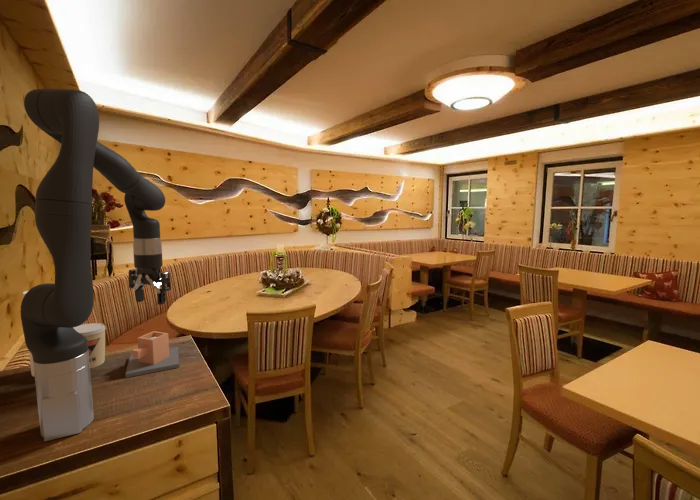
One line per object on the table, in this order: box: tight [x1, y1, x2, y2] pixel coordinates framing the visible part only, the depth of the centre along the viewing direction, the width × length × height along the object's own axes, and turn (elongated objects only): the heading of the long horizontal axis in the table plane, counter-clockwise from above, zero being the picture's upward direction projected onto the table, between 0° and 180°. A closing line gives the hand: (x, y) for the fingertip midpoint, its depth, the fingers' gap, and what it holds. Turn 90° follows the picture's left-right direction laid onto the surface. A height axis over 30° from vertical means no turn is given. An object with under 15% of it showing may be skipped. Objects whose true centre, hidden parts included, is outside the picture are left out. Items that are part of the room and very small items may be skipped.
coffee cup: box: [73, 322, 106, 369], centre depth 101 cm, size 9×9×12 cm
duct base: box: [124, 337, 180, 378], centre depth 104 cm, size 14×14×8 cm
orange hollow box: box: [131, 330, 170, 365], centre depth 102 cm, size 6×10×8 cm, turn 164°
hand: (150, 302), depth 101 cm, fingers open, 8 cm apart
